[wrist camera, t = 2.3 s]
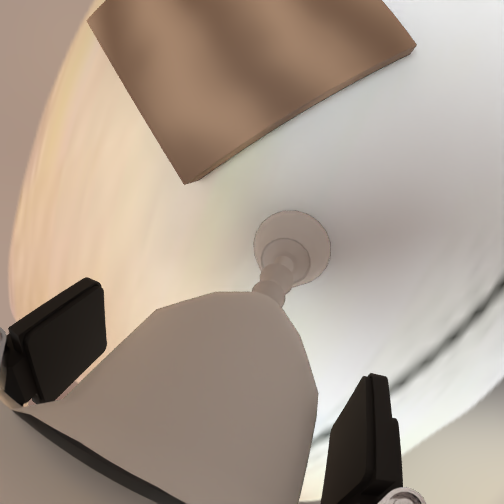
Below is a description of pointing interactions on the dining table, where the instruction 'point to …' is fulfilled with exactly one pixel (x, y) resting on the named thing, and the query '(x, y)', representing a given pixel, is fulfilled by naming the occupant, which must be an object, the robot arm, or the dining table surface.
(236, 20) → the serving board
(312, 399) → the chalice
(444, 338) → the dining table surface
